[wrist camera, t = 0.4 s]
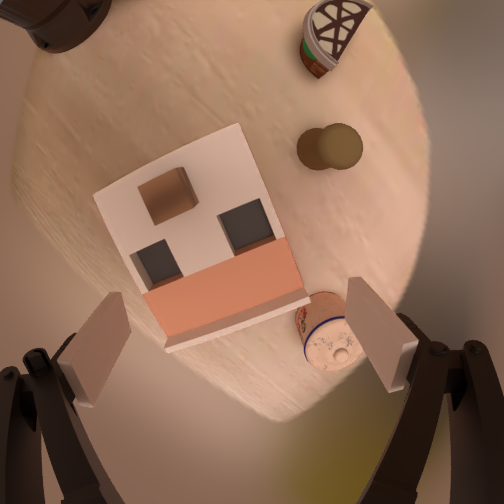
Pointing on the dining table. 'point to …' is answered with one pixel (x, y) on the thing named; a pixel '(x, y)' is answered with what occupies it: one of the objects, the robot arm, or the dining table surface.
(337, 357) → the teacup with lid
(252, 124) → the dining table surface
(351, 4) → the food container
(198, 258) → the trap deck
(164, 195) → the walnut block
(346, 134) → the cork
